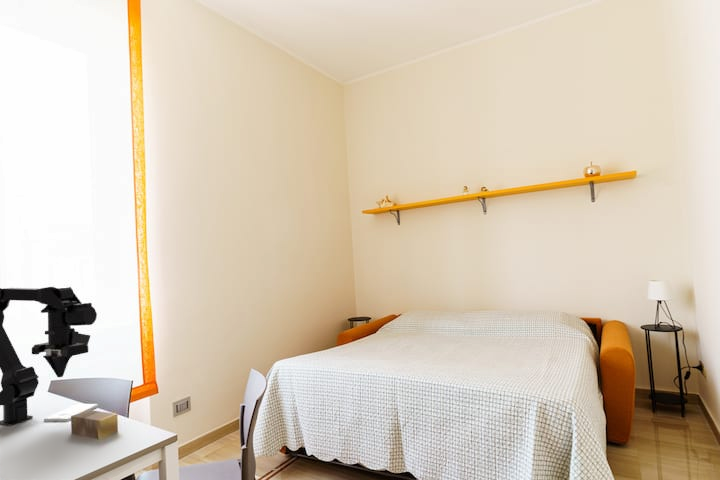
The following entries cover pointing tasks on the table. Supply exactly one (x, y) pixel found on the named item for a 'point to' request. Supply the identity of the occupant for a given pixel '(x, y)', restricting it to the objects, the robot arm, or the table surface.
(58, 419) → the external hard drive
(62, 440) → the table surface
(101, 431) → the walnut block
